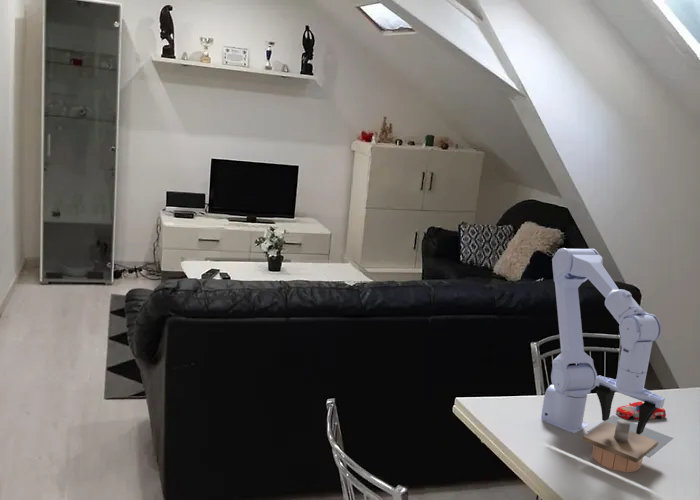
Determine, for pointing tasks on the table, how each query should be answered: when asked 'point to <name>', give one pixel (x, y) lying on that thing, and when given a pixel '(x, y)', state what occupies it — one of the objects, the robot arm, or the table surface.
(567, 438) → the table surface
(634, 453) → the cover board
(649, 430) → the mat
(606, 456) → the bowl
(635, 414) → the race car
